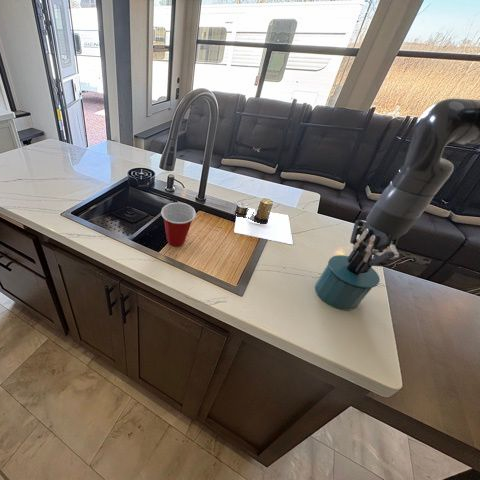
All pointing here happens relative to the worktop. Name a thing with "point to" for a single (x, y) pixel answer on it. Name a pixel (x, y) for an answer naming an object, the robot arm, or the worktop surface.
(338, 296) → the canister
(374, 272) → the lid
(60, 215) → the worktop surface
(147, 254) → the worktop surface
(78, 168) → the worktop surface
